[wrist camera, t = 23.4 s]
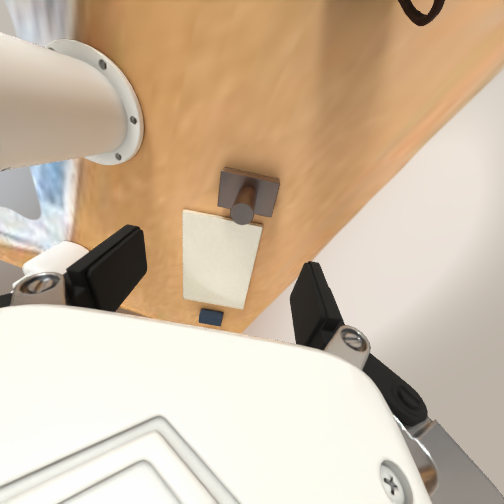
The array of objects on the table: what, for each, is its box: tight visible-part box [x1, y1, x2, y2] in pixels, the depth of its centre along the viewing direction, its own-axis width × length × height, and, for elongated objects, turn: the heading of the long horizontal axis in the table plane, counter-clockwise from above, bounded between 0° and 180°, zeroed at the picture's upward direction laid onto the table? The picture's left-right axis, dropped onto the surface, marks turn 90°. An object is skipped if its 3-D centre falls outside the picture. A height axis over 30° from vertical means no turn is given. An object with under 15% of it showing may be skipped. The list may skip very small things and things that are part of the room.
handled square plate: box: [218, 167, 280, 225], centre depth 26 cm, size 8×5×10 cm, turn 79°
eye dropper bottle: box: [11, 241, 90, 293], centre depth 33 cm, size 4×6×12 cm
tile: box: [182, 209, 263, 309], centre depth 37 cm, size 13×20×1 cm, turn 169°
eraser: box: [199, 309, 223, 326], centre depth 45 cm, size 5×2×2 cm, turn 79°
